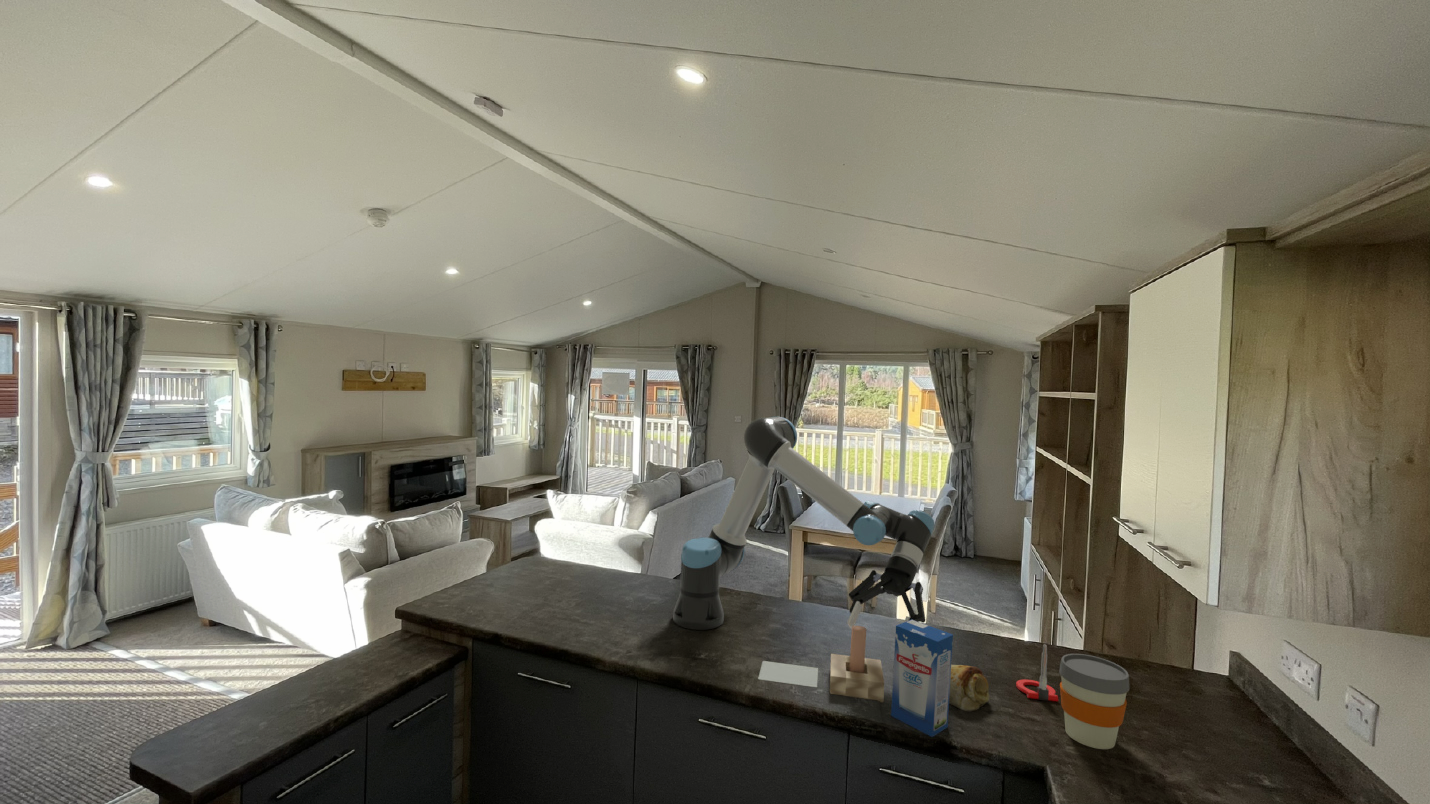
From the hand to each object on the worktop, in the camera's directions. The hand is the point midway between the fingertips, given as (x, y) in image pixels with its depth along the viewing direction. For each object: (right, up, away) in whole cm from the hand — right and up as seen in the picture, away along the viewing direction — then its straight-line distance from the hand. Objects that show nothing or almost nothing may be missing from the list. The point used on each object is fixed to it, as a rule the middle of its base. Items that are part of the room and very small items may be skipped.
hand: (874, 634), depth 151 cm
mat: (-21, -9, -2) cm, 23 cm away
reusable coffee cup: (+39, -13, -23) cm, 47 cm away
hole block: (-6, -10, -6) cm, 13 cm away
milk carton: (+4, -11, -20) cm, 23 cm away
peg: (-6, -10, -6) cm, 13 cm away
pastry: (+18, -12, -8) cm, 23 cm away
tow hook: (+38, -12, -4) cm, 40 cm away
